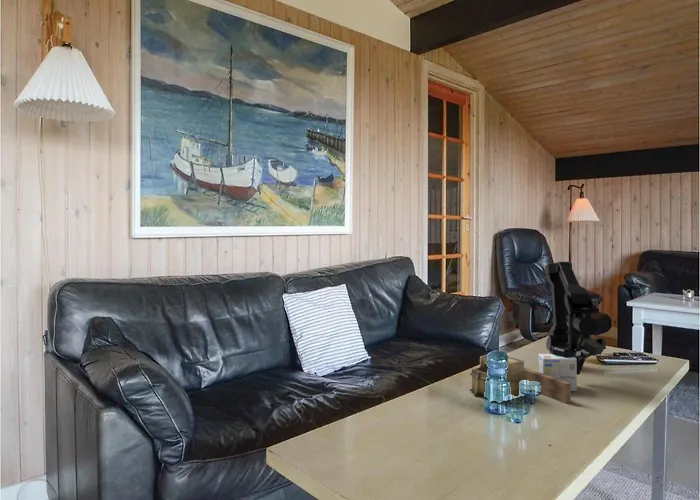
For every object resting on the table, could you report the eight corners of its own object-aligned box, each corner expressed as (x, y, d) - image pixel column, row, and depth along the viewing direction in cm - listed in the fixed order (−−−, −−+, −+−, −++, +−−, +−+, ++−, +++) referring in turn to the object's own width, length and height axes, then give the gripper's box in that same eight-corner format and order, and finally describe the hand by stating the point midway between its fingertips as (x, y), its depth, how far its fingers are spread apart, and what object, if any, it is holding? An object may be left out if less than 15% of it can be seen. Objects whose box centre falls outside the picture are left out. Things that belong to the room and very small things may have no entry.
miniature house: (494, 383, 166) (494, 350, 165) (528, 395, 154) (529, 360, 153) (462, 392, 158) (462, 357, 157) (496, 405, 146) (496, 368, 145)
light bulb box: (570, 384, 163) (570, 353, 162) (577, 391, 156) (577, 358, 155) (537, 384, 164) (537, 352, 164) (543, 390, 157) (543, 358, 157)
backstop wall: (512, 383, 166) (511, 365, 165) (516, 382, 167) (516, 364, 166) (566, 403, 146) (566, 383, 146) (570, 402, 147) (570, 382, 147)
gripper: (579, 336, 152) (579, 385, 153) (618, 329, 160) (617, 376, 161) (550, 330, 162) (550, 376, 163) (588, 324, 170) (588, 368, 171)
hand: (577, 374), depth 164 cm, fingers closed
